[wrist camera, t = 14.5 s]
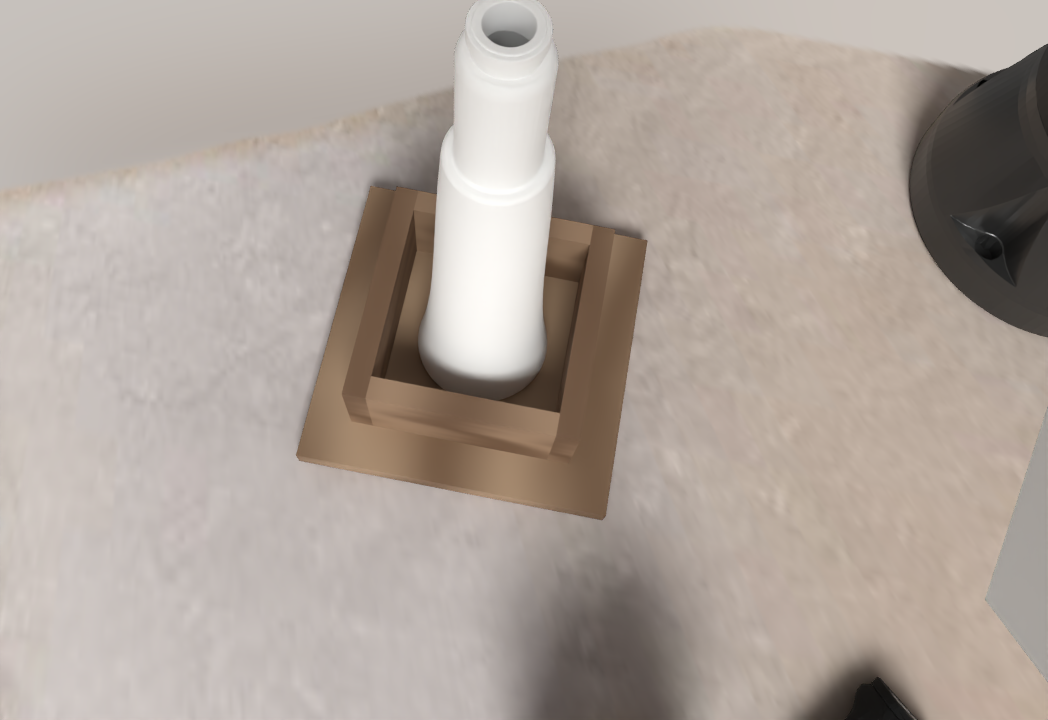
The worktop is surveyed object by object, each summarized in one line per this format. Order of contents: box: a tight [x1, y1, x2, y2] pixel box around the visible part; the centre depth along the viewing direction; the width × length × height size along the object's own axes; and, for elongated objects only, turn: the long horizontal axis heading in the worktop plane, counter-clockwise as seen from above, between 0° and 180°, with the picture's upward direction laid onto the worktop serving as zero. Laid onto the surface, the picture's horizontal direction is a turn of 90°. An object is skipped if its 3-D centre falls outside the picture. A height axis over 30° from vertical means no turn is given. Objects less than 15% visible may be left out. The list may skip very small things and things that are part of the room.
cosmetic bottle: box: [418, 0, 558, 401], centre depth 34 cm, size 6×6×22 cm
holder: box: [296, 186, 647, 520], centre depth 43 cm, size 14×14×5 cm
